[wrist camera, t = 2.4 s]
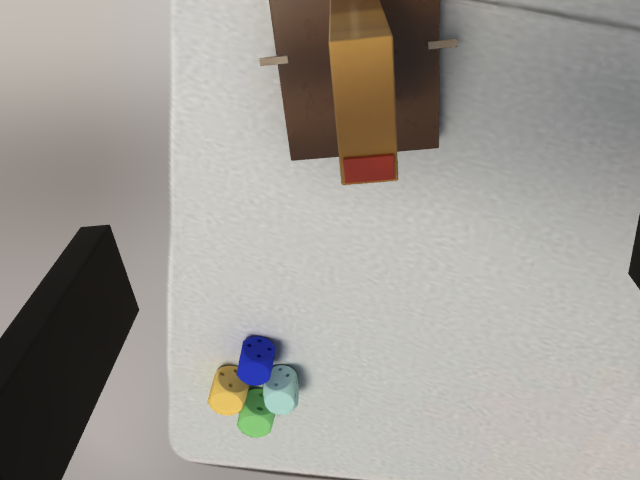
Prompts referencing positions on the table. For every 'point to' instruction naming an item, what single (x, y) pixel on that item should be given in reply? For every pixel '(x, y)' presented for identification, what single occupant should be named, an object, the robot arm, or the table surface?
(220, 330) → the table surface
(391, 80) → the thumb turn
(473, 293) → the table surface
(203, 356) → the table surface
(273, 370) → the dice
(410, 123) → the lock plate
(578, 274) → the table surface
